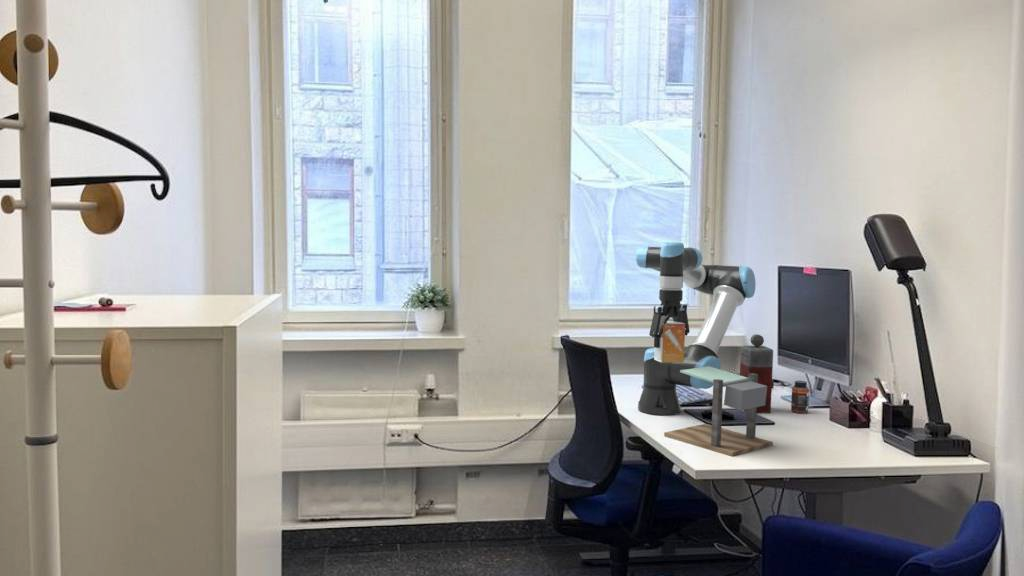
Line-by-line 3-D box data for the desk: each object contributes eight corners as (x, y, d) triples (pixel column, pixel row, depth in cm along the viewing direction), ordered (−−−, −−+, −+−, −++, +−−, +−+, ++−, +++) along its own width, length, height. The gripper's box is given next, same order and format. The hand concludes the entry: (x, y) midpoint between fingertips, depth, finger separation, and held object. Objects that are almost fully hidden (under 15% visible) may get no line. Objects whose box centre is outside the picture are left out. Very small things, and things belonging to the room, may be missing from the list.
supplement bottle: (811, 413, 277) (813, 382, 276) (798, 414, 275) (799, 383, 275) (800, 409, 283) (802, 379, 282) (787, 410, 281) (788, 380, 280)
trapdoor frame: (705, 427, 255) (707, 364, 253) (772, 445, 234) (775, 377, 233) (664, 436, 243) (666, 370, 241) (731, 456, 222) (734, 384, 221)
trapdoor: (706, 385, 250) (708, 365, 249) (767, 404, 232) (769, 383, 231) (678, 390, 242) (680, 369, 241) (738, 410, 224) (740, 388, 223)
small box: (661, 363, 250) (662, 323, 249) (653, 359, 256) (654, 321, 255) (684, 362, 252) (685, 323, 251) (676, 359, 258) (677, 320, 257)
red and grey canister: (759, 405, 288) (762, 332, 286) (771, 413, 277) (774, 336, 275) (736, 405, 287) (738, 332, 285) (746, 413, 276) (749, 336, 274)
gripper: (684, 286, 262) (682, 351, 264) (639, 289, 248) (637, 357, 250) (702, 288, 256) (700, 354, 258) (656, 291, 242) (654, 360, 244)
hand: (669, 356), depth 254 cm, fingers closed on small box, 10 cm apart
